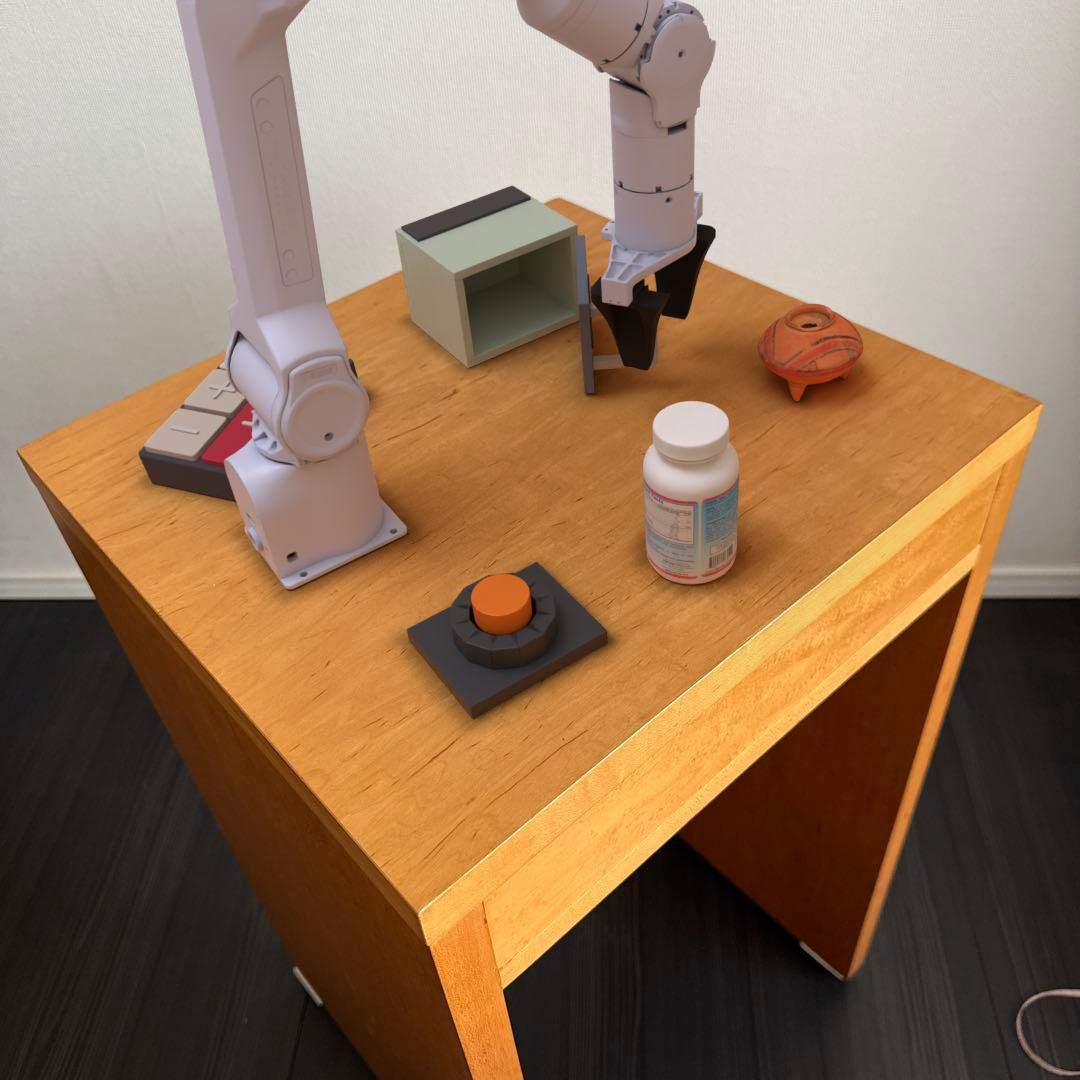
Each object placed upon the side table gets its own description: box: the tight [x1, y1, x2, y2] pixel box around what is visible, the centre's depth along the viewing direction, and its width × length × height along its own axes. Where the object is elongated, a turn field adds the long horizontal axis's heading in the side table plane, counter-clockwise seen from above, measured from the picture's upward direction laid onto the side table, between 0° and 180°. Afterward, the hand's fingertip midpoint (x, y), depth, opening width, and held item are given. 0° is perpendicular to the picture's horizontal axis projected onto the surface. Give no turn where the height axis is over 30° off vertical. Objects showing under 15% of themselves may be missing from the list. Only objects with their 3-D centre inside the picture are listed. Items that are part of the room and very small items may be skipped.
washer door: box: [575, 234, 659, 394], centre depth 91 cm, size 11×6×8 cm, turn 0°
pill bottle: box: [642, 400, 740, 585], centre depth 72 cm, size 6×6×11 cm
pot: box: [756, 303, 864, 402], centre depth 87 cm, size 8×8×7 cm
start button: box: [471, 573, 532, 635], centre depth 69 cm, size 4×4×2 cm
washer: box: [394, 185, 579, 369], centre depth 97 cm, size 12×10×9 cm
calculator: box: [138, 358, 359, 502], centre depth 89 cm, size 11×4×15 cm
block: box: [406, 561, 609, 720], centre depth 70 cm, size 10×8×3 cm
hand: (656, 340), depth 88 cm, fingers open, 7 cm apart
